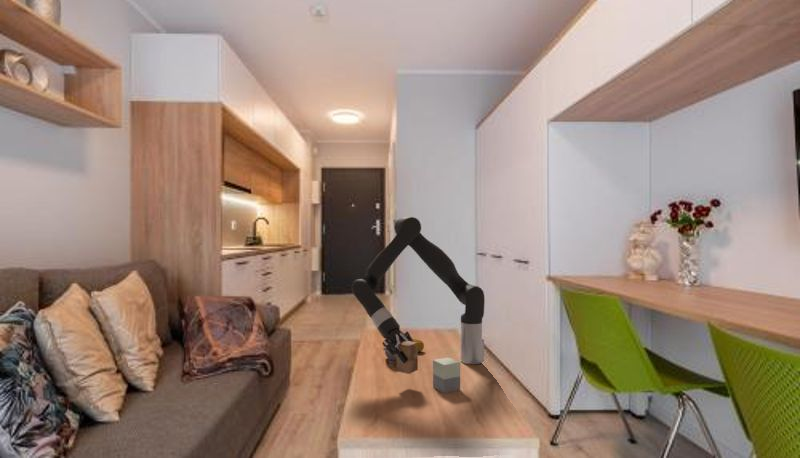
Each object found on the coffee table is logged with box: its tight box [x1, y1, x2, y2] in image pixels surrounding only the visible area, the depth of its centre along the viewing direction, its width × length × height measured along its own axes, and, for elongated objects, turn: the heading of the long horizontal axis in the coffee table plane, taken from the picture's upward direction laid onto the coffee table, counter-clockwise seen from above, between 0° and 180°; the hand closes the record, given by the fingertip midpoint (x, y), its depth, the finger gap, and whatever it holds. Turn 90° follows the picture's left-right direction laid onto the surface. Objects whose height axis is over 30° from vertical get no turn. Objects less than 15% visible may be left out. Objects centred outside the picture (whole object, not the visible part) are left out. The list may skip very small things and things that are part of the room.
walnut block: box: [396, 341, 419, 375], centre depth 157 cm, size 6×6×10 cm
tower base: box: [432, 373, 461, 394], centre depth 155 cm, size 7×7×5 cm
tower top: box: [432, 357, 461, 379], centre depth 155 cm, size 7×7×5 cm
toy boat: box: [384, 347, 397, 364], centre depth 187 cm, size 15×8×13 cm, turn 12°
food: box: [382, 338, 425, 353], centre depth 206 cm, size 21×6×6 cm, turn 67°
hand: (411, 359), depth 156 cm, fingers closed on walnut block, 5 cm apart
